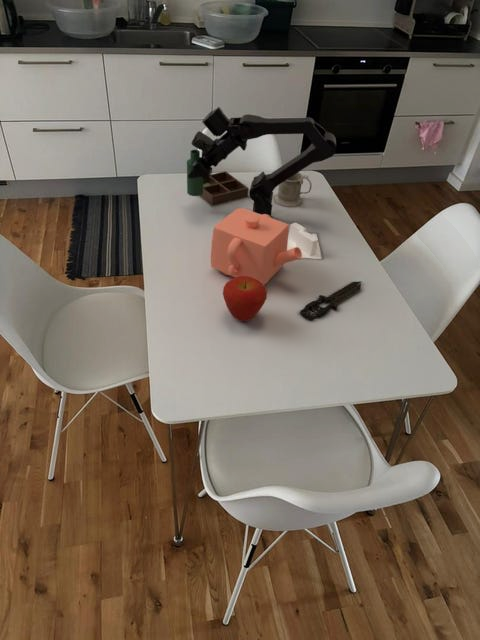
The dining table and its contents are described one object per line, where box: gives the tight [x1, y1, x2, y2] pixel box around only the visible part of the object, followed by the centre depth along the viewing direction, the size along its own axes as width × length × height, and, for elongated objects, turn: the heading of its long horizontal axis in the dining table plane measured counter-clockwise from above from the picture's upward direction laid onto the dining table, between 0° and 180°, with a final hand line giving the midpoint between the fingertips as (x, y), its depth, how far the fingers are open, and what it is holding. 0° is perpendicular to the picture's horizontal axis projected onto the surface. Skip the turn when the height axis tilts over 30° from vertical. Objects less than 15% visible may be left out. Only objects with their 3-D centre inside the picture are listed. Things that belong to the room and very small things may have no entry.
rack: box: [199, 170, 249, 207], centre depth 186 cm, size 15×15×4 cm
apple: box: [222, 276, 268, 322], centre depth 131 cm, size 11×11×12 cm
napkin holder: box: [287, 222, 323, 260], centre depth 162 cm, size 15×11×6 cm
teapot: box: [210, 207, 302, 286], centre depth 144 cm, size 25×23×18 cm
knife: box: [299, 281, 362, 321], centre depth 142 cm, size 25×6×1 cm, turn 127°
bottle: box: [186, 149, 203, 197], centre depth 168 cm, size 5×5×14 cm
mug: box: [274, 171, 312, 208], centre depth 181 cm, size 14×10×12 cm
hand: (191, 173), depth 168 cm, fingers closed on bottle, 5 cm apart
